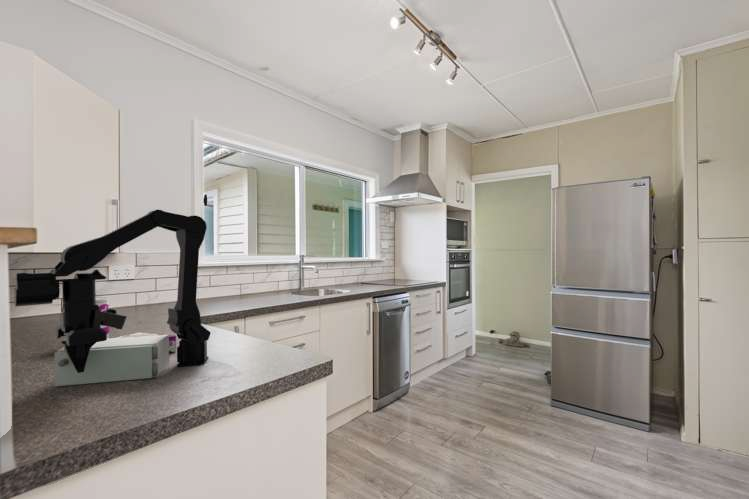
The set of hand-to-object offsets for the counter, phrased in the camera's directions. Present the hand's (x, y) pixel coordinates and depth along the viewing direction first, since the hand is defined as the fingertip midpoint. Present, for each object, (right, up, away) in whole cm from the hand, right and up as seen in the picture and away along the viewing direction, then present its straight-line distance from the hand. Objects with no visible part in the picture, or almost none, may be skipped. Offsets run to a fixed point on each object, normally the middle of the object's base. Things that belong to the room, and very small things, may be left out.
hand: (80, 372), depth 80 cm
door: (+3, -3, +3) cm, 6 cm away
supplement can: (-29, -5, +42) cm, 52 cm away
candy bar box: (+3, -2, +25) cm, 25 cm away
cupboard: (+1, -4, +10) cm, 10 cm away
